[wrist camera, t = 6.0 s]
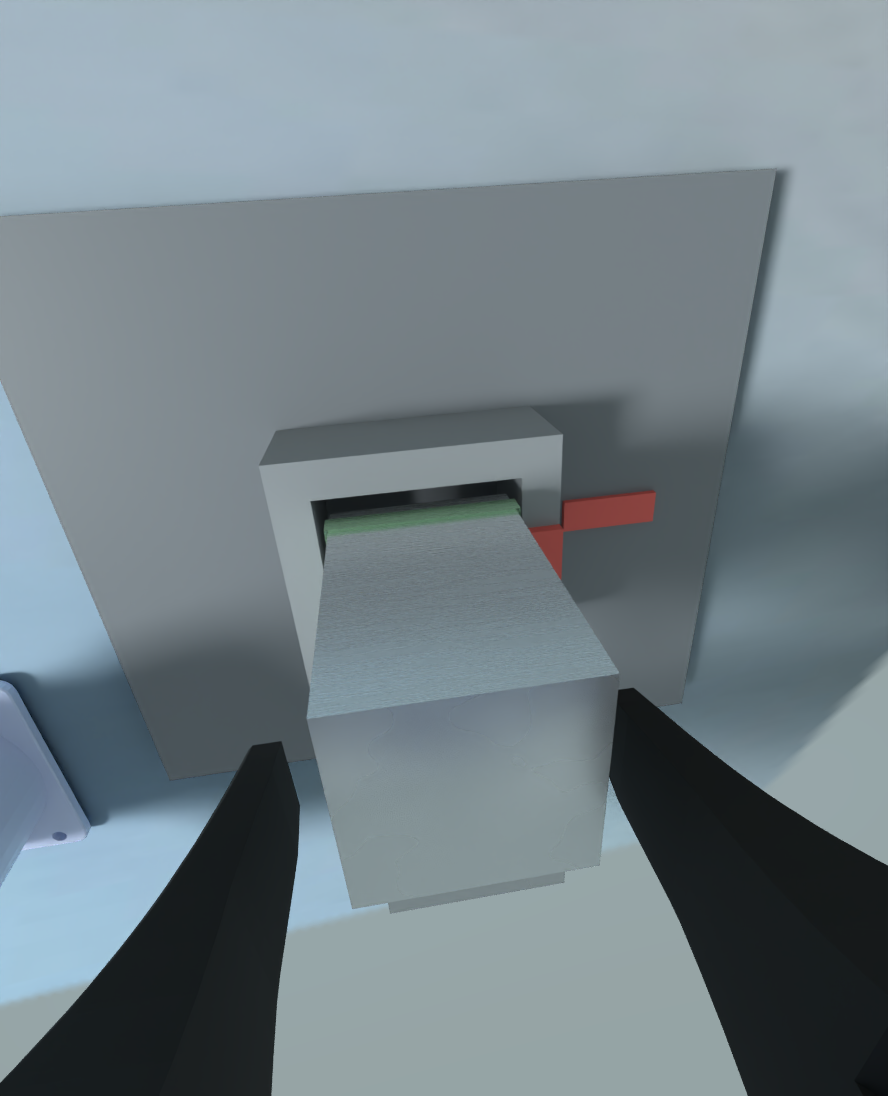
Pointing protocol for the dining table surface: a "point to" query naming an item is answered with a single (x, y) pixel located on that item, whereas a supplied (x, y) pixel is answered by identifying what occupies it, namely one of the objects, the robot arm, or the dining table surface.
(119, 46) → the dining table surface
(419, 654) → the white rectangular block
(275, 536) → the jack base
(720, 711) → the dining table surface
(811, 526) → the dining table surface
